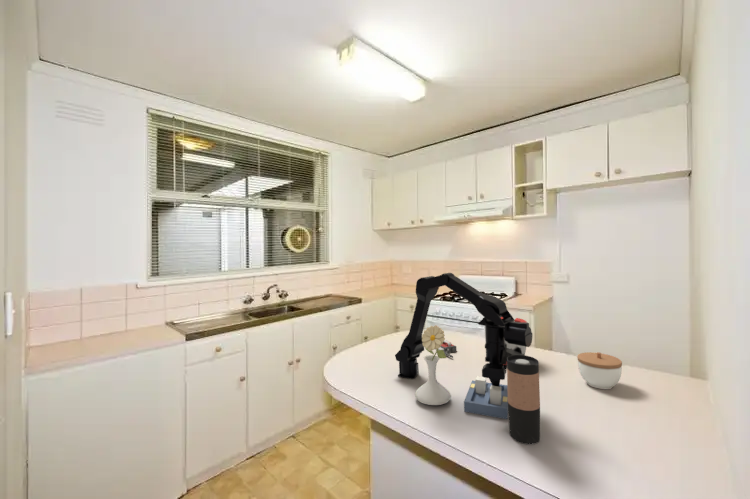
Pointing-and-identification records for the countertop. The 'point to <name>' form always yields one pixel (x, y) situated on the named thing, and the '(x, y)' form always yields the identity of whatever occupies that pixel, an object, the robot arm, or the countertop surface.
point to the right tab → (495, 395)
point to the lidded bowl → (599, 369)
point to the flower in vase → (433, 369)
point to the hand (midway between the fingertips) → (496, 390)
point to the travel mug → (523, 398)
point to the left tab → (480, 385)
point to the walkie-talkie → (447, 348)
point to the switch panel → (486, 402)
